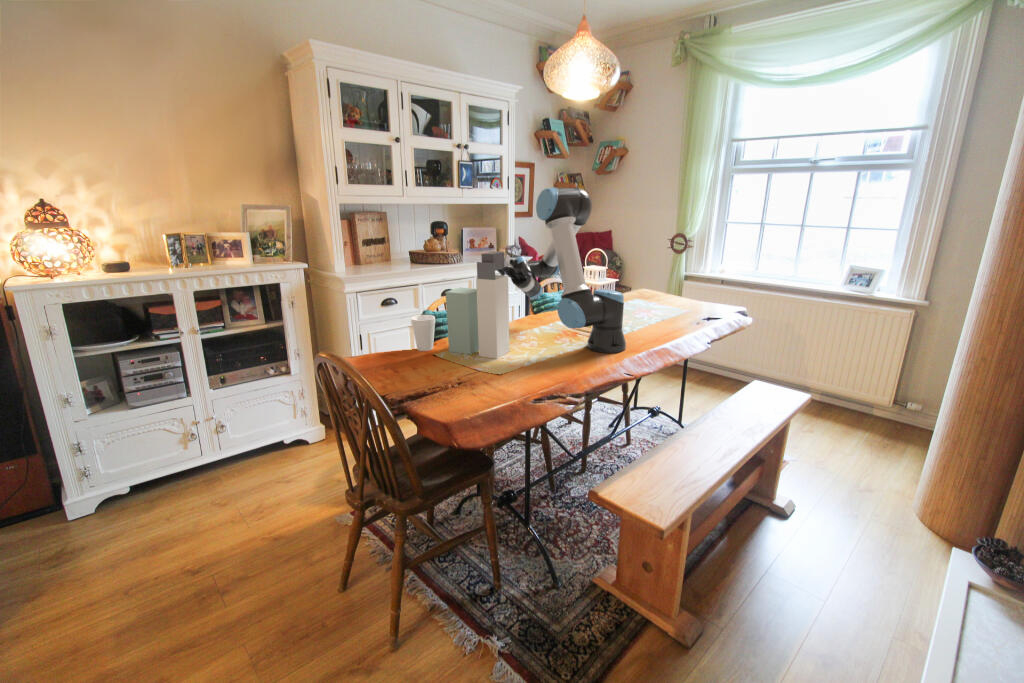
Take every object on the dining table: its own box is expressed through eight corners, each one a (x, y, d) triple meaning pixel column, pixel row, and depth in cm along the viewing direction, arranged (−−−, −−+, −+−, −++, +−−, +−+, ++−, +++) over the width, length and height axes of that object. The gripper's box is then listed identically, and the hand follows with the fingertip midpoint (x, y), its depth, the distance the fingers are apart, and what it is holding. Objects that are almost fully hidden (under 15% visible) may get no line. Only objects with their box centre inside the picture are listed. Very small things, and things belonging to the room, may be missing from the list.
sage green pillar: (483, 347, 192) (481, 289, 185) (470, 354, 183) (467, 294, 176) (462, 344, 196) (460, 287, 189) (449, 351, 188) (445, 292, 181)
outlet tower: (509, 351, 187) (507, 259, 176) (497, 359, 178) (494, 263, 168) (491, 348, 190) (489, 259, 180) (479, 356, 182) (475, 262, 171)
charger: (516, 264, 186) (516, 249, 184) (493, 270, 171) (493, 254, 169) (505, 264, 188) (504, 249, 187) (482, 270, 173) (481, 253, 171)
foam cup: (412, 346, 195) (410, 315, 191) (434, 344, 198) (432, 314, 194) (415, 353, 186) (412, 321, 182) (438, 350, 189) (436, 319, 185)
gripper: (505, 270, 203) (480, 247, 183) (544, 272, 195) (522, 248, 175) (502, 286, 202) (476, 265, 181) (540, 289, 194) (518, 267, 173)
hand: (498, 257), depth 178 cm, fingers closed on charger, 5 cm apart
